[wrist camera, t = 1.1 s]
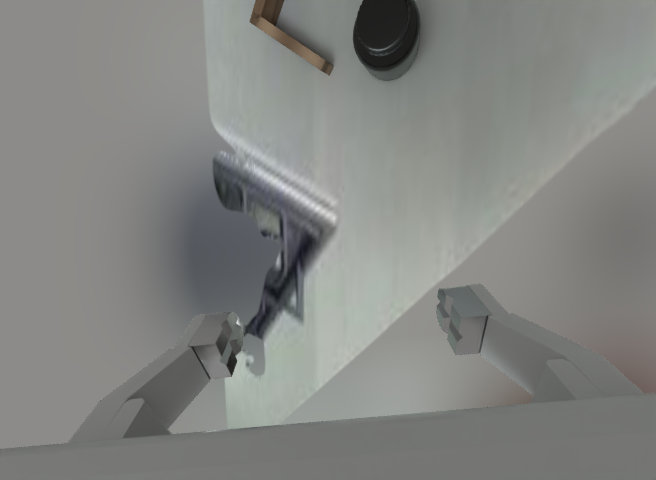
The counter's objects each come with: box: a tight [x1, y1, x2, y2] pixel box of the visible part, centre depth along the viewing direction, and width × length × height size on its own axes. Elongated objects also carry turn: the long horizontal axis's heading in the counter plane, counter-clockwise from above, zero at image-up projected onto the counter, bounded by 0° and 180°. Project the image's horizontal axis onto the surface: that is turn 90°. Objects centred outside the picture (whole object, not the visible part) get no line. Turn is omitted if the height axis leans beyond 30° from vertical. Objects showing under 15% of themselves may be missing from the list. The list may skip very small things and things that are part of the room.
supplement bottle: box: [353, 0, 420, 81], centre depth 28 cm, size 7×7×12 cm
